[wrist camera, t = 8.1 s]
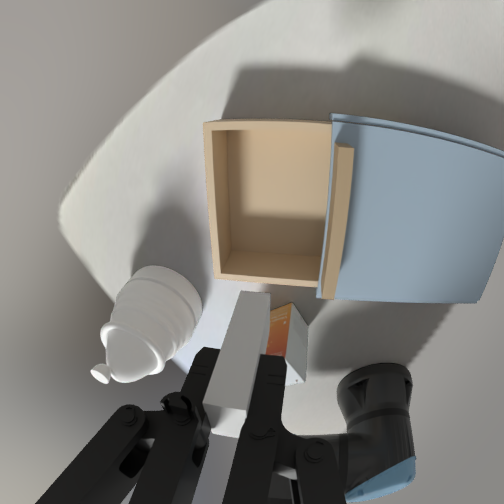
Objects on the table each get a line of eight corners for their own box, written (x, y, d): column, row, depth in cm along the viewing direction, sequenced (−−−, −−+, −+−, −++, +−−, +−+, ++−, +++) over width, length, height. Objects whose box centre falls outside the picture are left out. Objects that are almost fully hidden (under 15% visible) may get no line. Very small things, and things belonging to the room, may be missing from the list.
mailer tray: (392, 264, 34) (404, 292, 29) (227, 252, 37) (214, 278, 32) (415, 134, 25) (437, 141, 20) (220, 119, 29) (202, 122, 24)
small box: (292, 300, 39) (287, 358, 30) (309, 326, 41) (307, 383, 32) (245, 317, 42) (230, 372, 33) (263, 341, 44) (253, 394, 35)
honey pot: (118, 287, 44) (59, 362, 29) (159, 250, 39) (88, 338, 23) (170, 337, 48) (129, 418, 33) (219, 311, 43) (179, 411, 27)
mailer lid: (468, 290, 29) (486, 319, 24) (315, 283, 32) (316, 318, 27) (506, 152, 20) (537, 165, 15) (329, 112, 23) (337, 114, 18)
